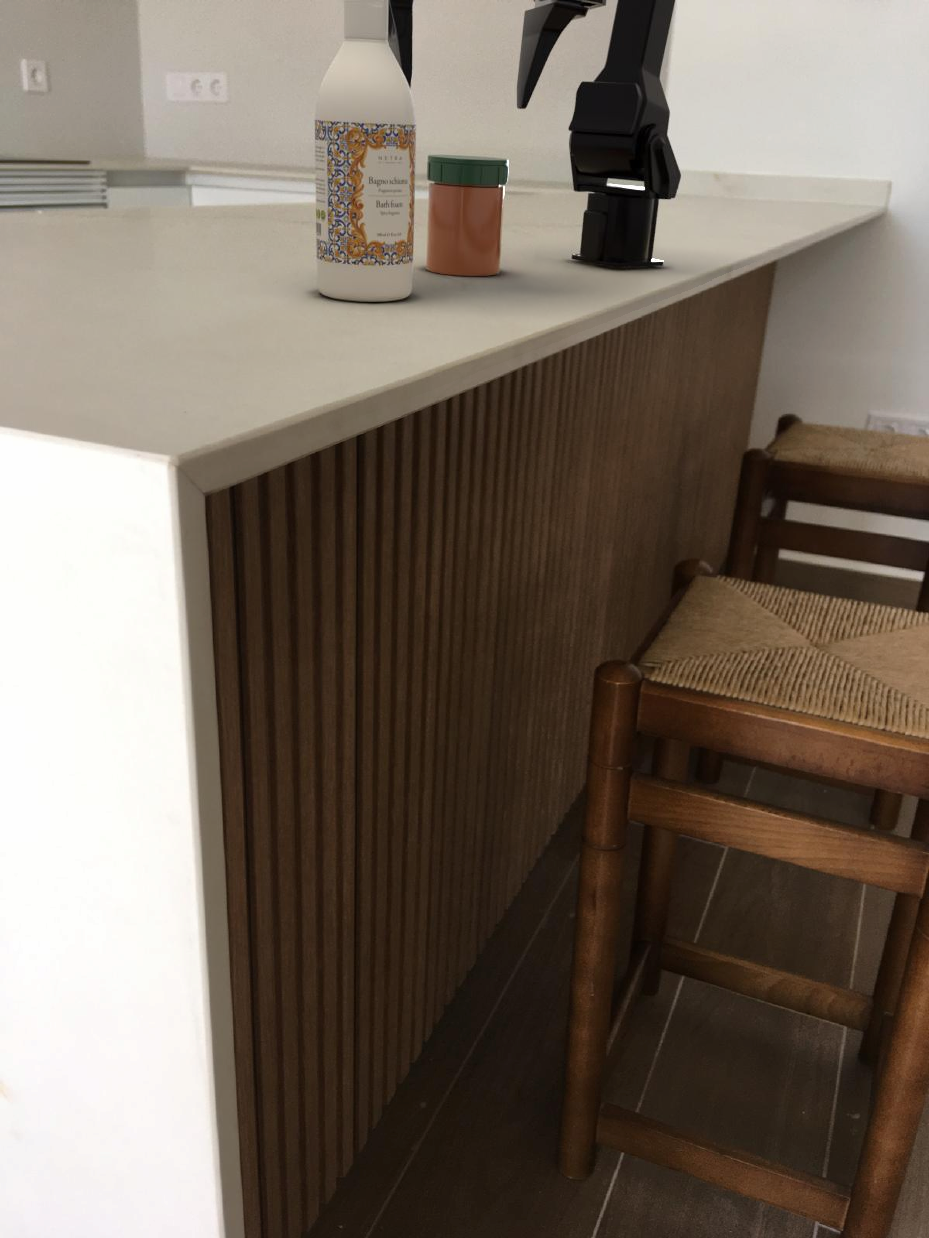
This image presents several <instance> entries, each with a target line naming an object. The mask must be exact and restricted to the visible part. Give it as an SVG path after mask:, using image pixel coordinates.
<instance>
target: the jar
mask: <svg viewBox="0 0 929 1238" xmlns="http://www.w3.org/2000/svg"><path fill="white" fill-rule="evenodd" d="M505 188H506V187H505V186H504V185H469V184H453V183H442V182H434V181H430V182H429V183H428V200H427V201H428V202H427V205H428V206H427V230H426V231H427V232H426V233H427V234H426V260H425V261H426V262H425V263H426V264H425V265H426V267H425V269H426V270H427V271H428V272H431V273H435V274H441V275H447V276H448V275H449V276H458V277H460V276H461V277H489V276H496V275H499V274H500V271H501V270H500V269H501V255H502V239H503V238H502V237H503V224H504V223H503V222H504V208H505V207H504V206H505V190H506V189H505Z"/></svg>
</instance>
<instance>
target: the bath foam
mask: <svg viewBox="0 0 929 1238" xmlns="http://www.w3.org/2000/svg"><path fill="white" fill-rule="evenodd" d="M343 36H344V39H343V43H342V45H341V46H340V48H339V49H338V50H337V53H336V55H335V56H334V59H333V60H332V62H331V64H330V66H329V67H328V69H327V71H326V73H325V75H324V77H323V80H322V81H321V84H320V87H319V90H318V94H317V98H316V104H315V114H314V158H315V159H314V160H315V161H314V165H315V167H314V168H315V171H314V173H315V220H316V221H315V231H316V232H315V233H316V235H315V236H316V237H315V238H316V278H317V279H316V280H317V282H316V283H317V289H318V291H319V293H321V294H322V295H323V296H325V297H328V298H331V299H335V300H341V301H351V302H362V303H364V302H365V303H366V302H367V303H379V302H392V301H400V300H403V299H405V298H407V297H409V296H410V295H411V293H412V290H413V275H414V274H413V272H414V271H413V270H414V269H413V268H414V267H413V266H414V238H415V237H414V236H415V232H414V231H415V194H416V193H415V191H416V151H417V150H416V149H417V119H416V108H415V102H414V97H413V93H412V91H411V89H410V88H409V85H408V82H407V80H406V78H405V76H404V74H403V72H402V70H401V68H400V66H399V64H398V62H397V60H396V58H395V56H394V55H393V53H392V51H391V49H390V47H389V44H388V41H387V39H388V0H343Z"/></svg>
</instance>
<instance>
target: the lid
mask: <svg viewBox="0 0 929 1238" xmlns="http://www.w3.org/2000/svg"><path fill="white" fill-rule="evenodd" d="M426 164H427V165H426V180H427V181H428V182H429V181H430V182H442V183H453V184H469V185H501V186H504V185H507V184H508V183H509V168H510V166H509V159H508V158H502V157H493V156H491V157H490V156H477V155H476V156H475V155H457V154H428V155H427V163H426Z"/></svg>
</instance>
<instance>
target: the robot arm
mask: <svg viewBox="0 0 929 1238" xmlns="http://www.w3.org/2000/svg"><path fill="white" fill-rule="evenodd" d="M533 2H534V7H533V8H531V9H527V10H524V15H523V23H522V24H523V25H522V34H521V42H520V43H521V44H520V54H519V61H518V72H517V81H516V108H517V109H518V110H526V109H527V107H528V105H529V103H530V101H531V98H532V96H533V94H534V91H535V89H536V87H537V84H538V82H539V80H540V78H541V75H542V73H543V70H544V68H545V66H546V64H547V62H548V59H549V57H550V55H551V52H552V51H553V50H554V47H555V45H556V44H557V42H558V40H559V38H560V37H561V35H562V33H563V32H564V31H565V29H566V28H567V27H568V26H569V24H570V23H571V22H572V21H574V20H579V19H583V18H586V16H587V14H588V13H589V11H590V10H594V9H599V8H601V7H605V6H607V0H533ZM414 3H415V0H388V39H387V42H388V45H389V47H390V49H391V51H392V53H393V55H394V56H395V58H396V60H397V62H398V64H399V66H400V68H401V70H402V72H403V74H404V76H405V78H406V80H407V82H408V85H409V88H410V90H411V88H412V79H413V68H414V66H413V65H414V62H413V61H414V46H413V45H414V41H413V40H414V39H413V38H414V36H413V35H414V32H413V31H414V30H413V29H414V28H413V27H414V25H413V24H414V17H413V16H414ZM675 3H676V0H617V2H616V7H615V12H614V17H613V23H612V28H611V33H610V38H609V43H608V49H607V54H606V58H605V63H604V66H603V68H602V69H601V71H600V72H599V73H598V74H597V76H596V77H595V79H594V80H593V81H584V80H582V81H581V82H580V83H579V85H578V87H577V88H576V89H577V90H576V92H575V102H574V110H573V115H572V118H571V120H570V123H569V126H568V132H570V134H569V140H568V149H569V159H570V168H571V169H570V170H571V175H572V176H571V177H572V178H571V179H572V187H573V188H572V189H573V191H574V192H576V193H587V200H586V201H587V202H586V204H587V205H586V209H585V210H584V212H583V215H582V228H581V238H580V249H579V253H572V254H571V260H574V261H579V262H582V263H583V262H584V263H588V264H594V265H598V266H602V267H603V266H604V267H609V268H614V269H620V268H643V267H663V266H664V260H661V259H656V258H653V254H654V245H655V238H656V237H655V236H656V229H657V221H658V214H659V213H658V212H659V204H660V200H672V199H675V198H676V196H677V192H678V189H679V185H680V182H681V178H682V174H681V173H682V172H681V170H680V167H679V164H678V161H677V159H676V156H675V153H674V150H673V147H672V144H671V141H670V139H669V135H668V132H669V124H670V117H671V112H670V111H671V109H670V107H669V103H668V100H667V97H666V94H665V91H664V88H663V84H662V81H661V72H662V67H663V61H664V56H665V53H666V46H667V42H668V37H669V33H670V28H671V24H672V18H673V13H674V8H675ZM609 179H610V180H611V179H612V180H619V181H620V180H621V181H630V182H631V181H632V182H642V183H643V186H636V185H627V184H626V185H625V184H615V183H608V180H609Z"/></svg>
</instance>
